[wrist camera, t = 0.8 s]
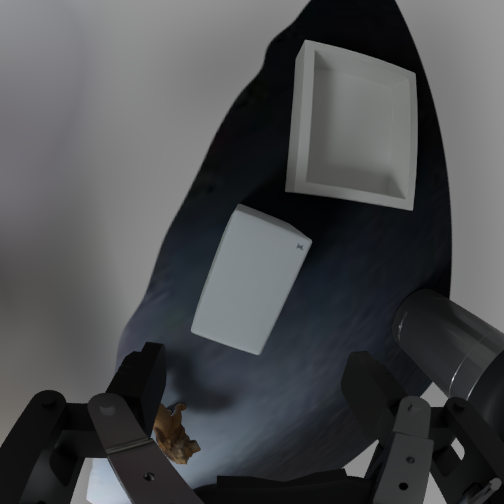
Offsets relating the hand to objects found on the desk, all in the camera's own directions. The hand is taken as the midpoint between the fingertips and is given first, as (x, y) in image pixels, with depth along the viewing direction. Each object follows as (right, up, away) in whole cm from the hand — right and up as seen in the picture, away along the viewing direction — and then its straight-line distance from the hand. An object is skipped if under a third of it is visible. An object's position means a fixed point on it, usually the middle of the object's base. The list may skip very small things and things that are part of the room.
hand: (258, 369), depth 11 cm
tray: (+10, +19, +17) cm, 27 cm away
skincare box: (-1, +4, +20) cm, 21 cm away
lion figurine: (-12, -15, +24) cm, 31 cm away
